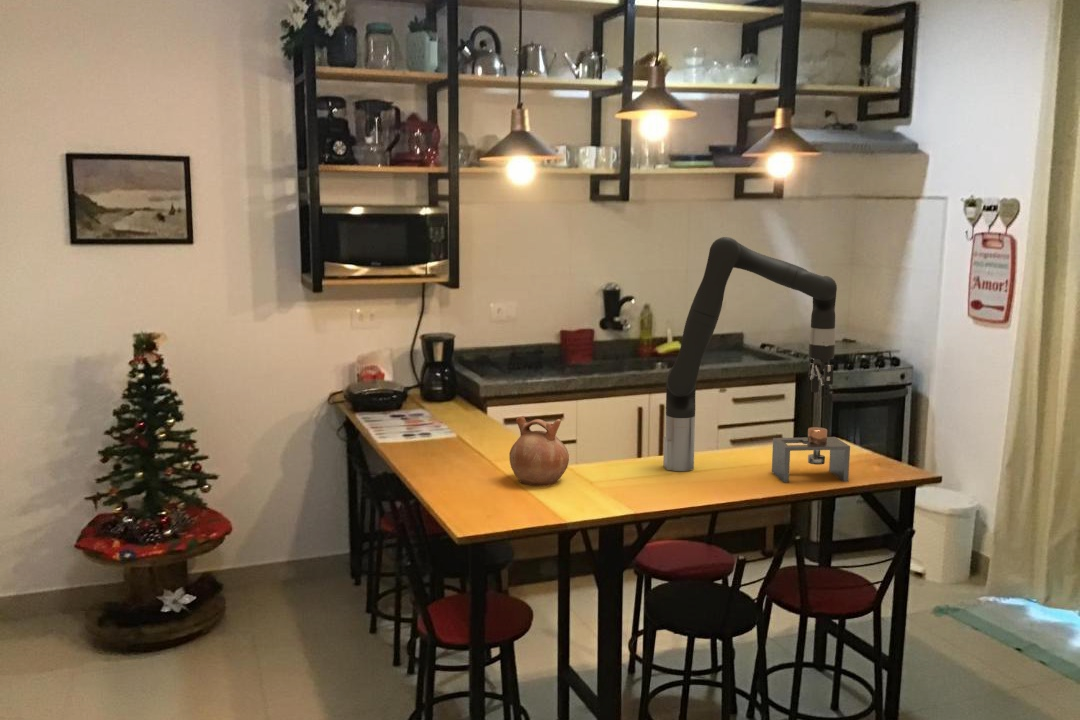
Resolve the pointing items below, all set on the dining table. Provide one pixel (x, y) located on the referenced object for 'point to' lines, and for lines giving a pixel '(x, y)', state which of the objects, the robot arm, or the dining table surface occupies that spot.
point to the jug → (538, 454)
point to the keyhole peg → (817, 437)
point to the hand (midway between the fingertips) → (819, 395)
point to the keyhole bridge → (836, 447)
